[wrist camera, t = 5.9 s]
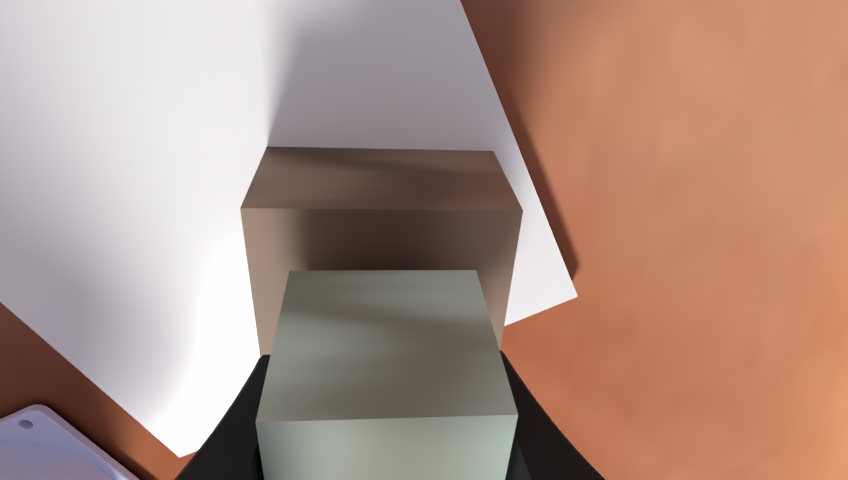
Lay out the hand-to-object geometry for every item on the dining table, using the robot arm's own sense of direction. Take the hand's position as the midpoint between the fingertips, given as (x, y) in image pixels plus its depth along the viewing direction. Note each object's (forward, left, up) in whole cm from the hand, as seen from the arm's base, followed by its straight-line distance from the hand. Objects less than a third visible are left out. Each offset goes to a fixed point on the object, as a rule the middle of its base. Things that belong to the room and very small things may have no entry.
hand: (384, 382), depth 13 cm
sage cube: (0, 0, -1) cm, 1 cm away
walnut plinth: (0, 0, -6) cm, 6 cm away
